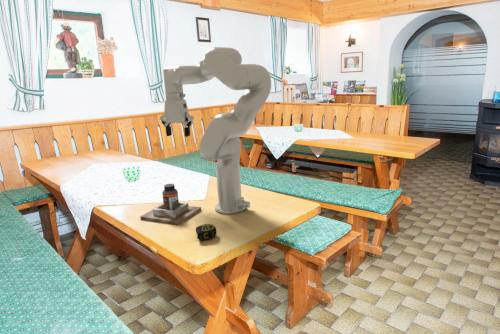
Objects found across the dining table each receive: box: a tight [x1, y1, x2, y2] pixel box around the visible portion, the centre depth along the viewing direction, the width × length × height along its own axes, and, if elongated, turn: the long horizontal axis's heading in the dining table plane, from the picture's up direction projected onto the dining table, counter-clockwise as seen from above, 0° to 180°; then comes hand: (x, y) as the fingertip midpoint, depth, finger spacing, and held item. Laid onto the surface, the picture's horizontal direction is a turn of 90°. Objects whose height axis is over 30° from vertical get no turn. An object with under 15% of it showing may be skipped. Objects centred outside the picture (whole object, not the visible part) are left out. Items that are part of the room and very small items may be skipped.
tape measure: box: [195, 223, 217, 241], centre depth 121 cm, size 7×7×4 cm
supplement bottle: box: [162, 183, 180, 210], centre depth 141 cm, size 6×6×11 cm
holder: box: [139, 201, 202, 226], centre depth 142 cm, size 18×16×4 cm
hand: (178, 135), depth 157 cm, fingers open, 9 cm apart
